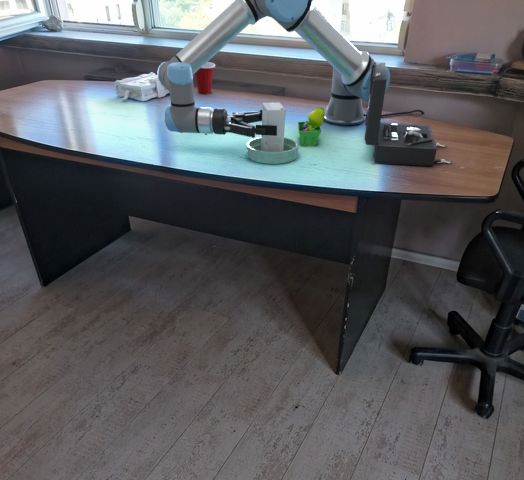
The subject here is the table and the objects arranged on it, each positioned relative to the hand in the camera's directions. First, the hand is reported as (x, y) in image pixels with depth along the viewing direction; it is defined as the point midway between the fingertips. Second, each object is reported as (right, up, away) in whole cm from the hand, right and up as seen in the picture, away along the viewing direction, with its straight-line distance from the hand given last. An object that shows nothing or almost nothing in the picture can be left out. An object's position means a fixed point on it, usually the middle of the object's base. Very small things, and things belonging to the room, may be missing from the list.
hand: (279, 124), depth 151 cm
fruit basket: (+11, +2, +18) cm, 22 cm away
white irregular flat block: (-59, +45, +68) cm, 101 cm away
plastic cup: (-32, +49, +73) cm, 93 cm away
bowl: (-2, -7, +7) cm, 10 cm away
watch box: (+42, -5, +10) cm, 43 cm away
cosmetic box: (-2, -7, +6) cm, 10 cm away
